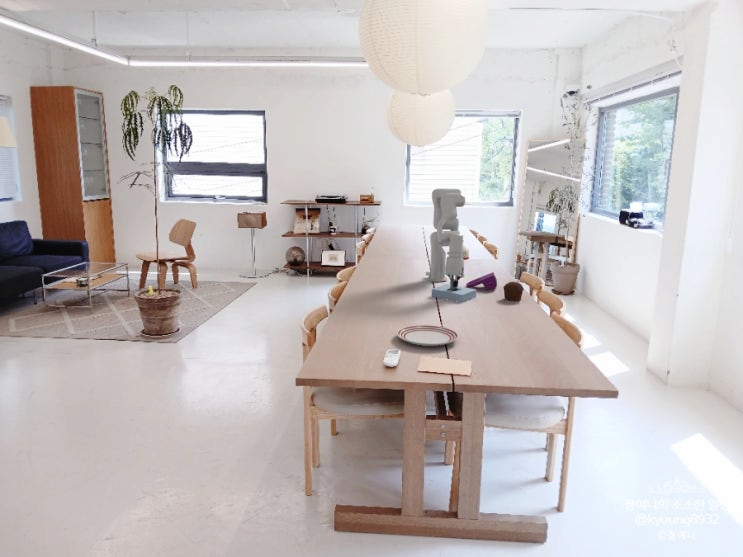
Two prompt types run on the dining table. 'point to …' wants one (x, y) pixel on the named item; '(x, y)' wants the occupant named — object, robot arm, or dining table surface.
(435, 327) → the dinner plate
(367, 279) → the dining table surface
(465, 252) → the kitchen timer
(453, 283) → the steel bracket
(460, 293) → the well block
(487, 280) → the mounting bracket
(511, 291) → the muffin
